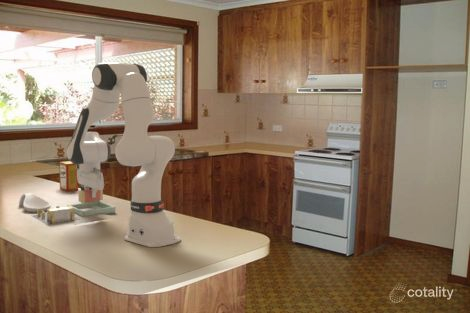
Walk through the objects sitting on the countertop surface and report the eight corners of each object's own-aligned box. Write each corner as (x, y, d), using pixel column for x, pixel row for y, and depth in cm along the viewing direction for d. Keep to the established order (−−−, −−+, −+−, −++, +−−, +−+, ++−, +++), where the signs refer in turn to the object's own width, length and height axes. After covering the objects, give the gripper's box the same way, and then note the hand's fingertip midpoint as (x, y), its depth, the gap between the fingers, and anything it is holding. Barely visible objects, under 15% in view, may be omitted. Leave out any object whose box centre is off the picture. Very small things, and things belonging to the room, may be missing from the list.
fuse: (102, 200, 222) (102, 189, 221) (82, 202, 215) (82, 192, 215) (98, 198, 225) (98, 188, 224) (78, 201, 218) (78, 190, 217)
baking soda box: (78, 190, 271) (77, 162, 269) (67, 191, 267) (66, 163, 265) (70, 187, 278) (70, 160, 276) (59, 188, 274) (59, 161, 272)
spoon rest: (55, 213, 219) (55, 197, 218) (29, 217, 211) (29, 201, 210) (35, 204, 236) (34, 189, 235) (10, 207, 228) (10, 192, 227)
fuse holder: (80, 221, 204) (80, 207, 203) (47, 227, 195) (47, 212, 194) (62, 213, 218) (62, 200, 217) (31, 217, 209) (30, 204, 208)
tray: (115, 213, 220) (115, 206, 220) (82, 218, 209) (82, 211, 209) (99, 206, 232) (99, 200, 231) (67, 211, 221) (67, 205, 221)
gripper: (107, 169, 212) (107, 199, 214) (87, 163, 227) (87, 191, 229) (94, 170, 208) (94, 201, 210) (74, 164, 223) (74, 193, 225)
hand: (90, 196), depth 220 cm, fingers closed on fuse, 4 cm apart
